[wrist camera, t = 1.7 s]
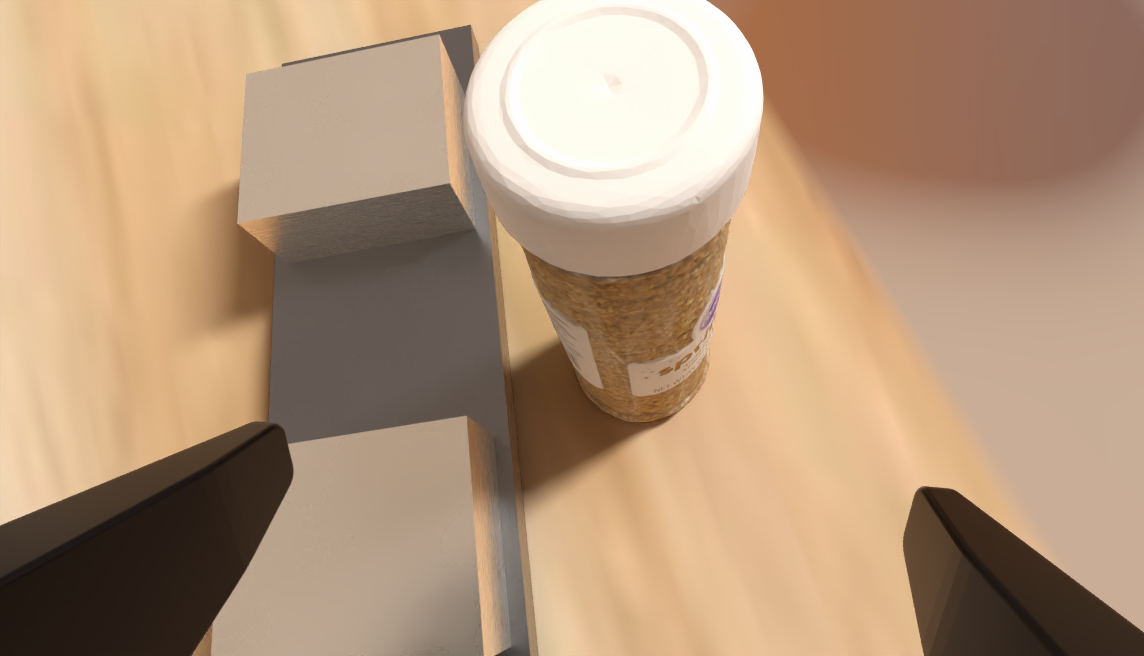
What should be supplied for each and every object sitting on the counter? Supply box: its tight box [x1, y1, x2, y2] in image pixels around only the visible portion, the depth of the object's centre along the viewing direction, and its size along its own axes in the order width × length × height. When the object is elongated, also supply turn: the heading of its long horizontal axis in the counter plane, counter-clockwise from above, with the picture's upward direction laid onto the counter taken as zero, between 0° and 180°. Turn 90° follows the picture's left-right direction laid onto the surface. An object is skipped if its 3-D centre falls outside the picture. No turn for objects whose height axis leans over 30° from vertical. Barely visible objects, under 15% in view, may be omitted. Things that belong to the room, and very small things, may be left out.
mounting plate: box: [211, 25, 538, 656], centre depth 21 cm, size 26×8×4 cm, turn 7°
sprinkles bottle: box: [463, 0, 763, 422], centre depth 16 cm, size 5×5×14 cm
